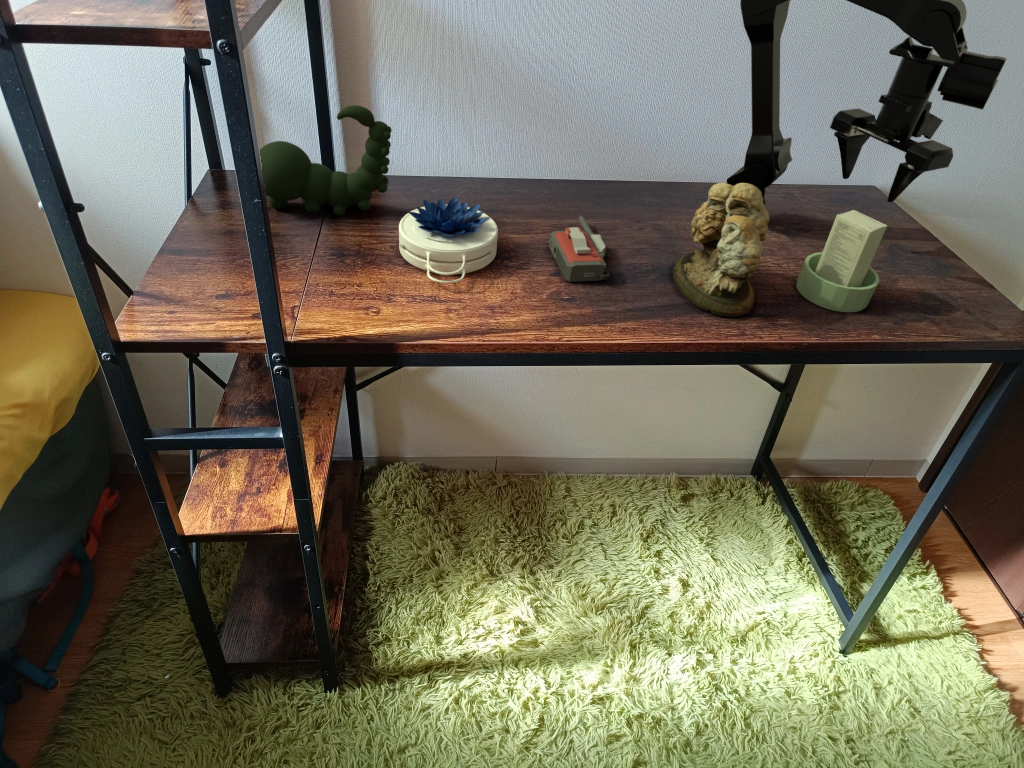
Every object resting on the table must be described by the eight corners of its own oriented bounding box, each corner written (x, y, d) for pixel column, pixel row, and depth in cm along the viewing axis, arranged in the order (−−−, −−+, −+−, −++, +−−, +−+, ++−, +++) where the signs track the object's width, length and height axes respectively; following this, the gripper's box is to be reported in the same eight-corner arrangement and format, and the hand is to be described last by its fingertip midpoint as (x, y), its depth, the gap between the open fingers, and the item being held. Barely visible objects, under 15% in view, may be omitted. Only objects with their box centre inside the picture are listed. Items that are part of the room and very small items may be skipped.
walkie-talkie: (620, 285, 108) (585, 224, 123) (625, 260, 105) (589, 201, 120) (566, 287, 106) (537, 225, 121) (569, 261, 103) (540, 201, 118)
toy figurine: (387, 207, 125) (242, 189, 121) (394, 101, 113) (234, 77, 109) (384, 232, 118) (230, 214, 114) (390, 121, 106) (219, 97, 102)
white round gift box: (404, 185, 113) (388, 245, 98) (499, 192, 114) (498, 252, 99) (405, 224, 118) (390, 287, 102) (496, 230, 118) (495, 293, 103)
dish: (796, 302, 108) (806, 279, 105) (795, 268, 117) (804, 246, 114) (871, 319, 106) (883, 295, 103) (865, 283, 115) (875, 261, 112)
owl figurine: (655, 258, 115) (679, 158, 104) (720, 256, 118) (750, 158, 107) (697, 320, 102) (730, 213, 91) (770, 316, 104) (810, 212, 93)
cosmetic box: (857, 295, 110) (890, 226, 102) (840, 302, 108) (872, 232, 100) (825, 276, 114) (854, 208, 106) (807, 282, 112) (836, 213, 104)
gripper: (999, 108, 101) (947, 207, 111) (893, 69, 113) (855, 162, 123) (951, 115, 97) (902, 217, 107) (846, 74, 109) (811, 169, 119)
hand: (867, 189), depth 114 cm, fingers open, 9 cm apart
